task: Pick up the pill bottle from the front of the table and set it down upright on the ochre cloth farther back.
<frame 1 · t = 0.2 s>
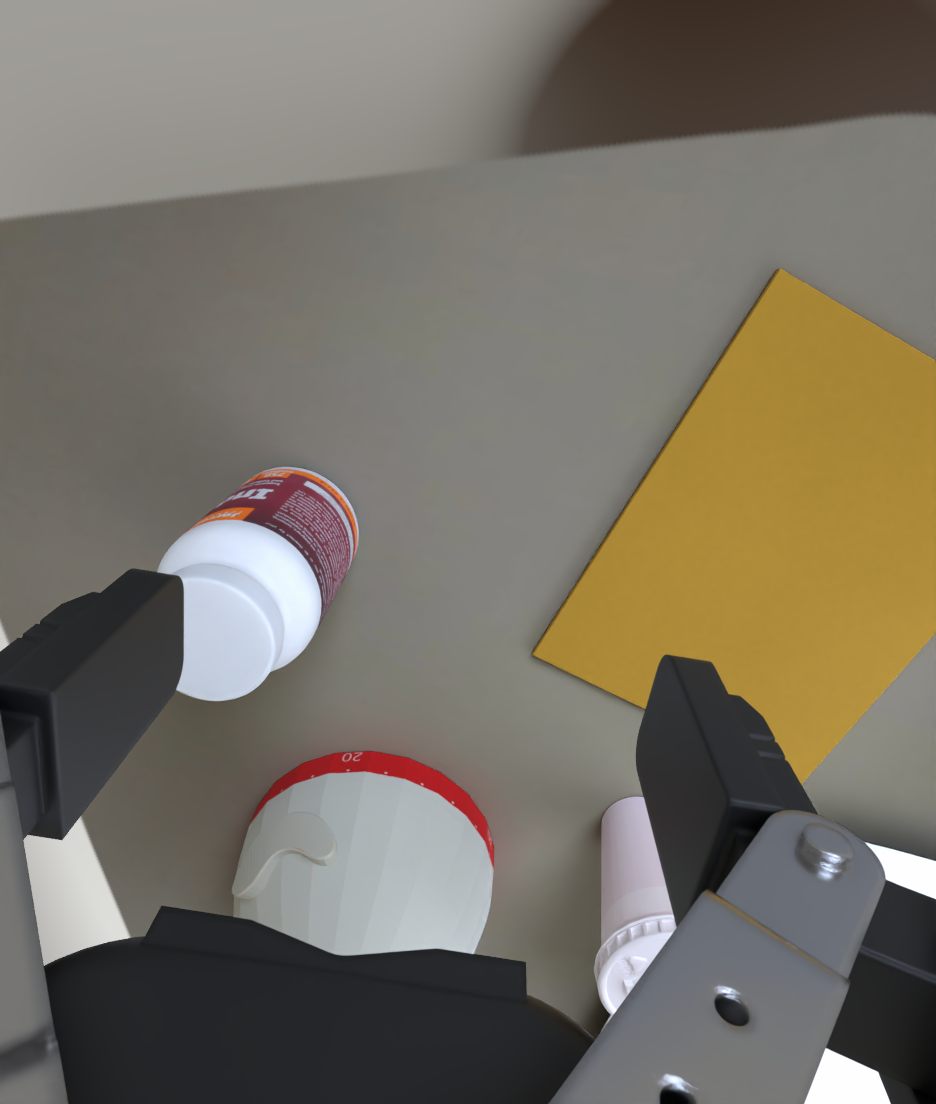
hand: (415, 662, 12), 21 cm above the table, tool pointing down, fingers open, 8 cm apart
smoothie: (634, 821, 40), on the table
kitchen timer: (372, 848, 42), on the table
plate: (834, 1007, 45), on the table
pill bottle: (297, 525, 34), on the table
cloth: (789, 559, 34), on the table
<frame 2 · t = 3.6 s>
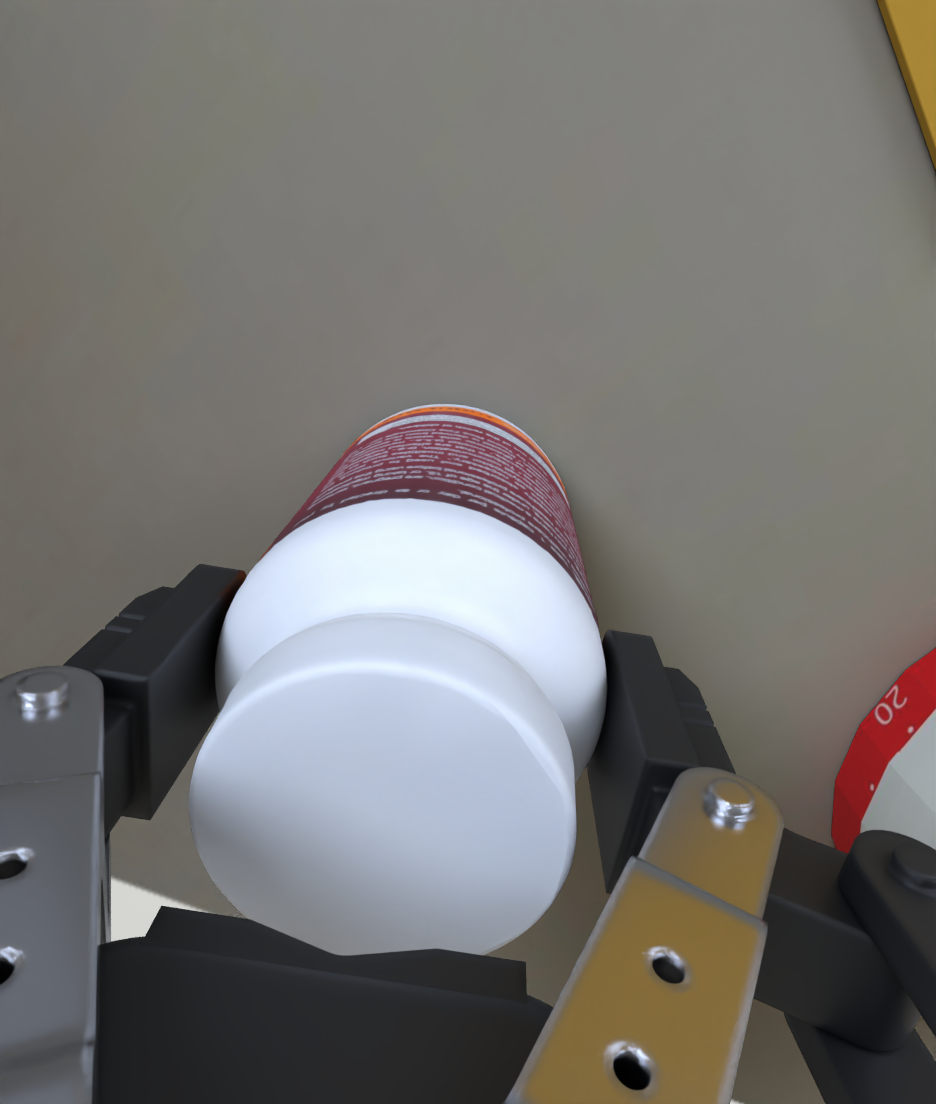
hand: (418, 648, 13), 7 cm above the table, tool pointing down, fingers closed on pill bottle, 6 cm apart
pill bottle: (448, 517, 19), on the table, touching gripper
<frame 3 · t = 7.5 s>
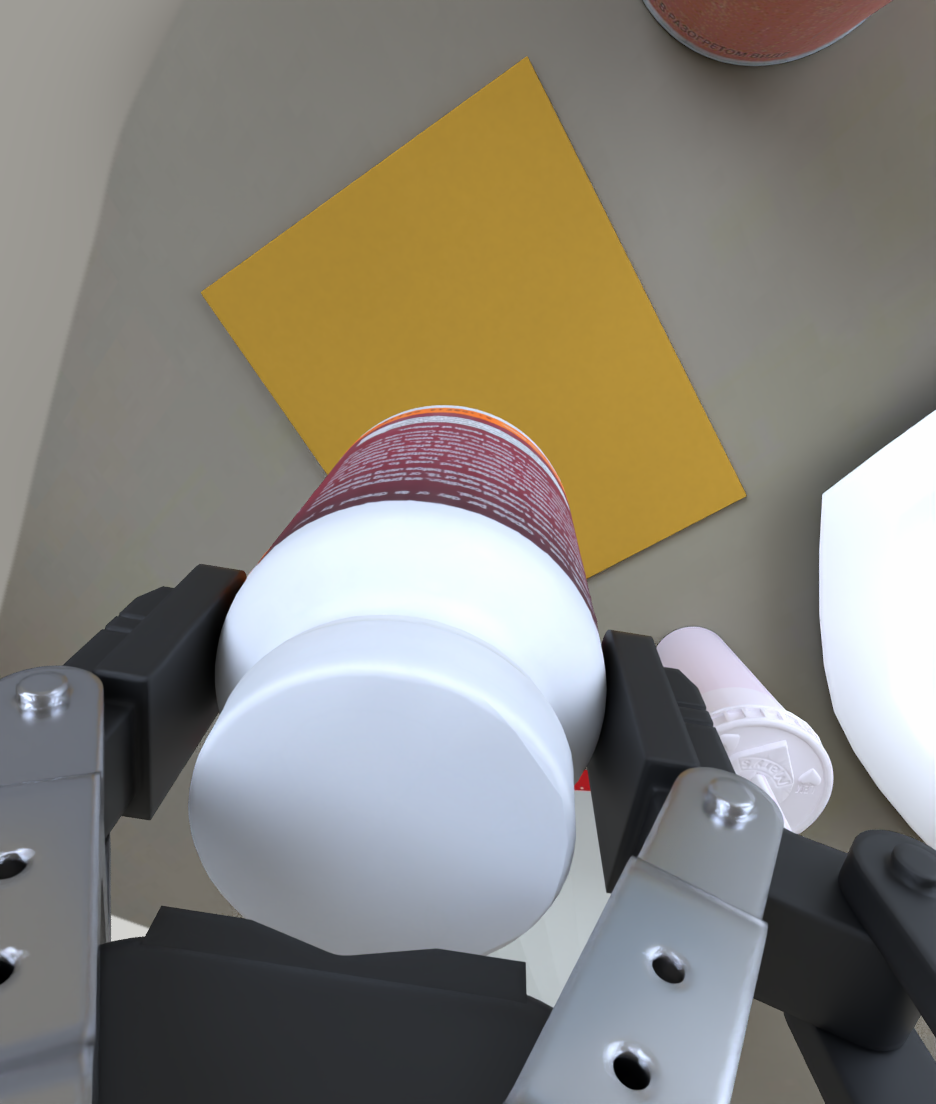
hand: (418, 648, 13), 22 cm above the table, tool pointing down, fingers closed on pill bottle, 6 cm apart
smoothie: (689, 657, 37), on the table
kitchen timer: (570, 864, 42), on the table
pill bottle: (448, 518, 19), point 15 cm above the table, touching gripper
cloth: (482, 396, 32), on the table
when the fingers open (7 cm above the table, at t = 11.2 s): pill bottle stays where it is, resting on cloth.
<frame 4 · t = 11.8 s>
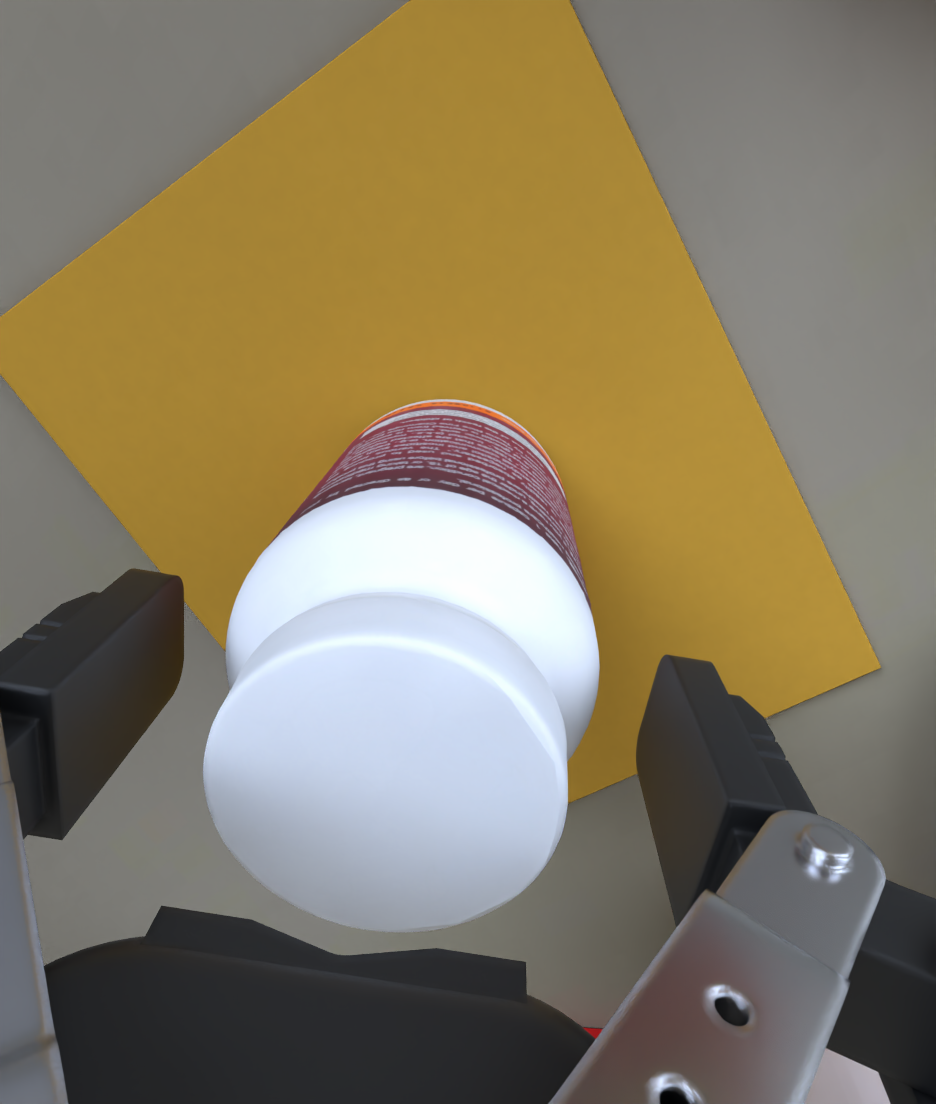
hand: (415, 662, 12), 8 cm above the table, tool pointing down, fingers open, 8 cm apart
smoothie: (771, 886, 24), on the table
pill bottle: (449, 510, 20), resting on cloth
cloth: (452, 508, 20), on the table
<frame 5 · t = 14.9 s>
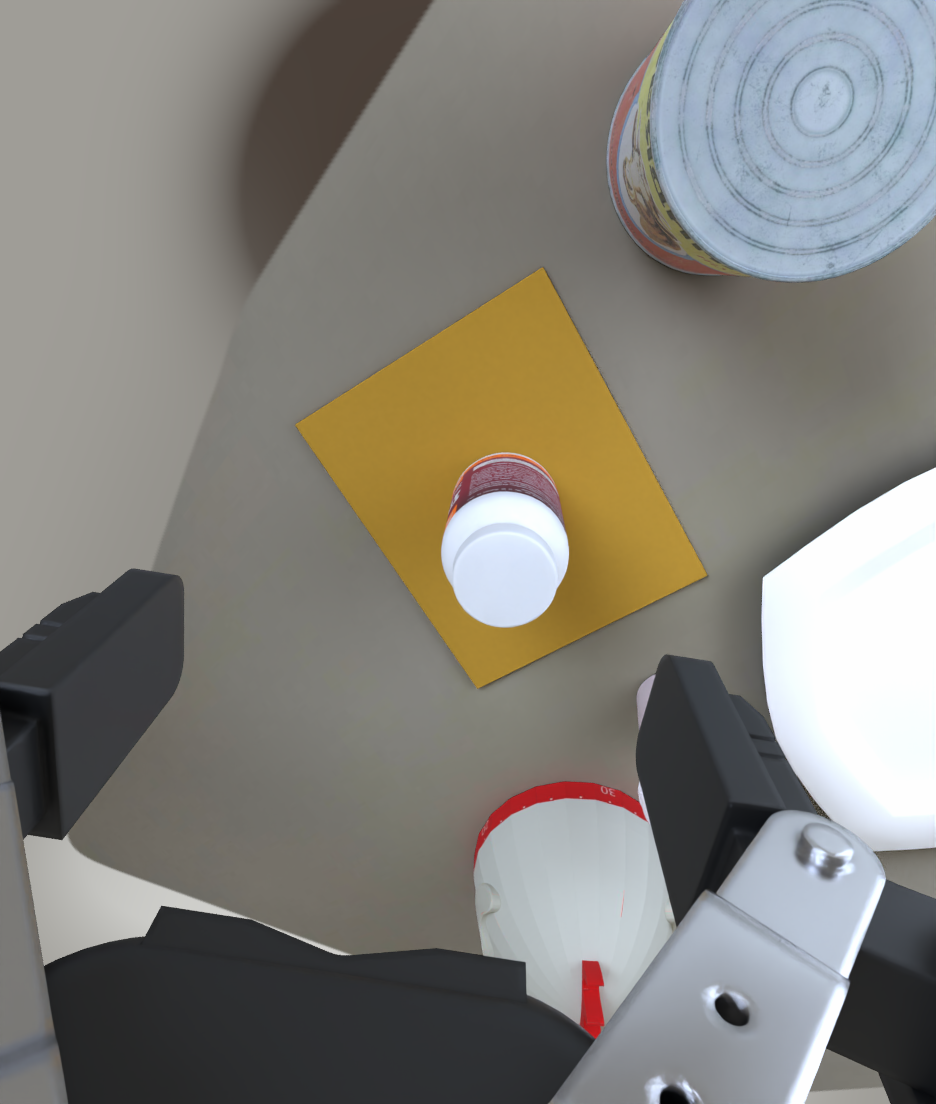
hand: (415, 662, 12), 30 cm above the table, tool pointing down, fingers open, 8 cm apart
smoothie: (664, 695, 47), on the table
kitchen timer: (571, 857, 53), on the table
canned food: (722, 151, 36), on the table
pill bottle: (505, 501, 42), resting on cloth
cloth: (506, 500, 43), on the table
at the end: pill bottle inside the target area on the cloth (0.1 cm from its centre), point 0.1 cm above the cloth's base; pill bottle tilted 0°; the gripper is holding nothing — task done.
